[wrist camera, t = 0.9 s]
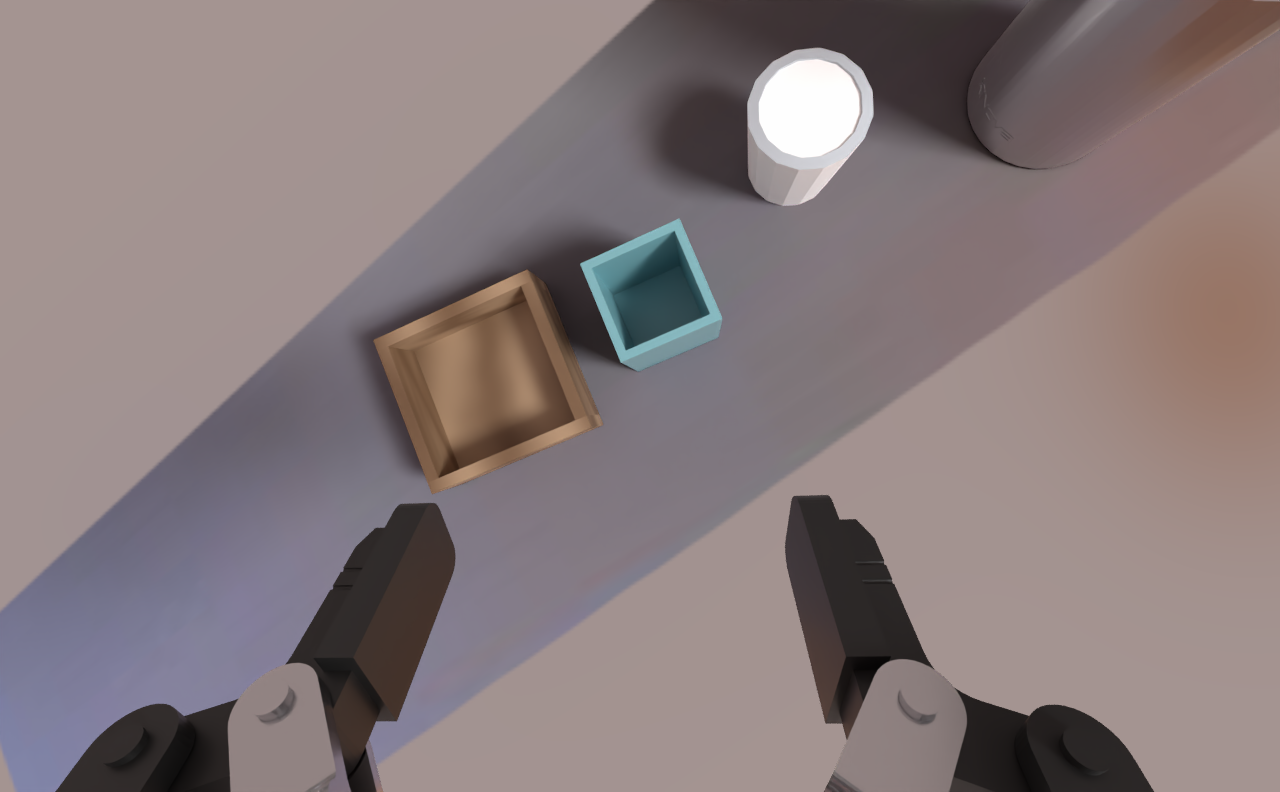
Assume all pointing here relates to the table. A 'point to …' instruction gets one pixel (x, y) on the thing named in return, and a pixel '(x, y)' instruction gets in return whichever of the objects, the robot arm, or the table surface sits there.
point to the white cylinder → (805, 123)
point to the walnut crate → (487, 381)
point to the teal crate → (653, 297)
